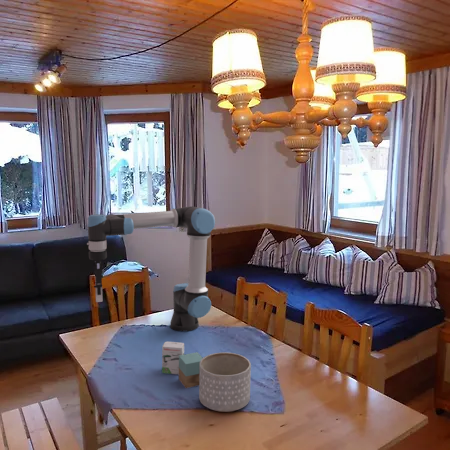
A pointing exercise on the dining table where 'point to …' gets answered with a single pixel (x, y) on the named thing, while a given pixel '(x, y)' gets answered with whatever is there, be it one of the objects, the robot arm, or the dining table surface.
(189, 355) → the tower top block
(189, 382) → the tower bottom block
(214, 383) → the planter
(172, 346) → the ink box
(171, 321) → the robot arm
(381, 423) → the dining table surface
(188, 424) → the dining table surface
